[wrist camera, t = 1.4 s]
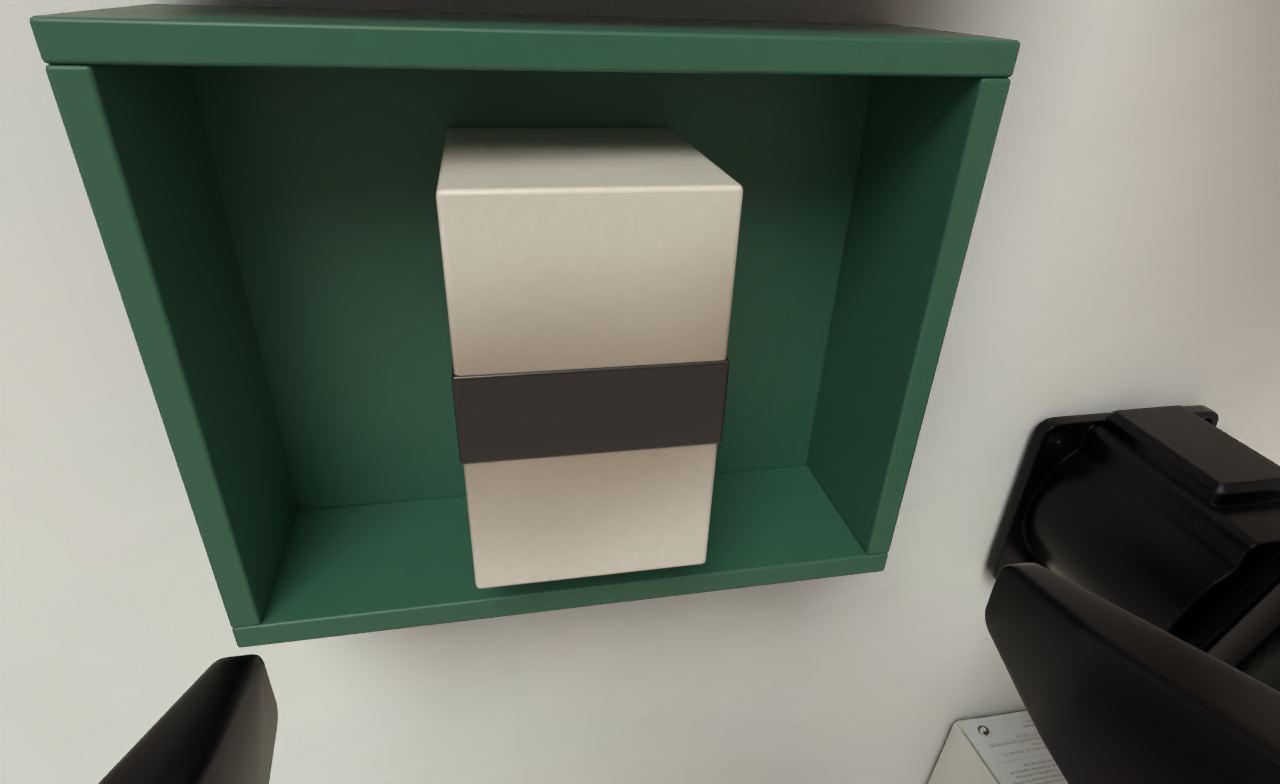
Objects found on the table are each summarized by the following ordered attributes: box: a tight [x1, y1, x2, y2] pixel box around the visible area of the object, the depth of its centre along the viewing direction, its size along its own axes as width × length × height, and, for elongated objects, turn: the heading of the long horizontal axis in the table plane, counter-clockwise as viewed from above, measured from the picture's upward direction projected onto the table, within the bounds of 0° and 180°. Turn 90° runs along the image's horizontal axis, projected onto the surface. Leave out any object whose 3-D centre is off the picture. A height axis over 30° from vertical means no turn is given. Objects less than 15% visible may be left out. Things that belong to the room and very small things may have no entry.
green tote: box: [30, 4, 1020, 647], centre depth 16 cm, size 12×15×4 cm
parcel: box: [436, 128, 743, 589], centre depth 15 cm, size 8×5×5 cm, turn 178°
